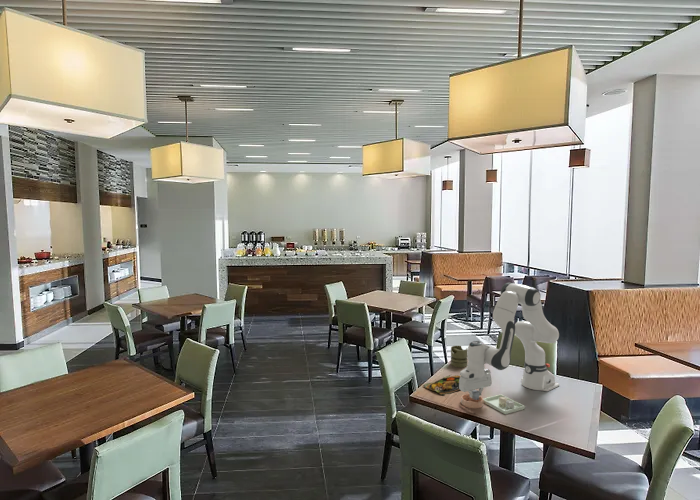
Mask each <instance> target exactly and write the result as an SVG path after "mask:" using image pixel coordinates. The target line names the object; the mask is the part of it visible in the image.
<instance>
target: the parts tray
mask: <svg viewBox="0 0 700 500" xmlns="http://www.w3.org/2000/svg"><path fill="white" fill-rule="evenodd" d="M499 397H505V398H507V400H511V401H513V402H514V408H513V409H509V410H507V409H506V407H502V406H500V405H499ZM482 398H483V400H484V403H483V404H485V405H487V406H489V407H491V408H492V409H494V410H497V411H498V412H500V413H502V414H504V415H509V414H511V413H515V412H519V411H522V410H525V409H526V405H524V404H522V403H520V402H518V401H516V400H514V399H512V398H509V397H508V396H506V395H503V394H502V393H500V394H497V395H492V396H488V397H485V398H484V397H482Z"/></svg>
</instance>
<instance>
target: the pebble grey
mask: <svg viewBox="0 0 700 500" xmlns="http://www.w3.org/2000/svg"><path fill="white" fill-rule="evenodd" d="M513 408H514V402H513V401H511V400H507V401H506V409H507V410H509V409H513Z"/></svg>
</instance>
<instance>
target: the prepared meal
mask: <svg viewBox="0 0 700 500" xmlns="http://www.w3.org/2000/svg"><path fill="white" fill-rule="evenodd" d="M460 377H461V375H453V376H452V374H449V375H446V376H445V377H442V378H440V379H438V380H436V381H432V382H428V383H424V384H423V385H422V386H423V387H424V389H426V390H428V391H433V392H436V393H437V394H439V395H440V396H441V397H445V396H446V395H450V394H453V393H455V392H457V391H461V390H460V389H459V379H460Z"/></svg>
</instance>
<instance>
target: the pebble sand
mask: <svg viewBox="0 0 700 500" xmlns="http://www.w3.org/2000/svg"><path fill="white" fill-rule="evenodd" d="M506 401H507V398H505V397H499V405H500V406H502V407H506Z"/></svg>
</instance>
